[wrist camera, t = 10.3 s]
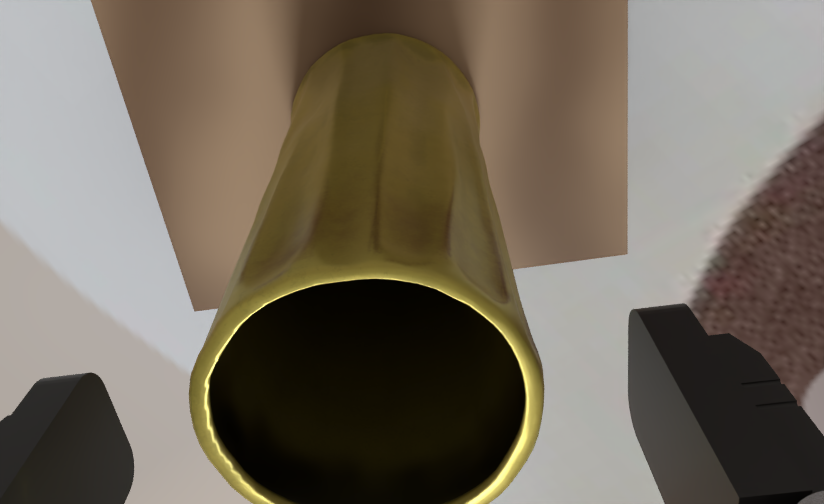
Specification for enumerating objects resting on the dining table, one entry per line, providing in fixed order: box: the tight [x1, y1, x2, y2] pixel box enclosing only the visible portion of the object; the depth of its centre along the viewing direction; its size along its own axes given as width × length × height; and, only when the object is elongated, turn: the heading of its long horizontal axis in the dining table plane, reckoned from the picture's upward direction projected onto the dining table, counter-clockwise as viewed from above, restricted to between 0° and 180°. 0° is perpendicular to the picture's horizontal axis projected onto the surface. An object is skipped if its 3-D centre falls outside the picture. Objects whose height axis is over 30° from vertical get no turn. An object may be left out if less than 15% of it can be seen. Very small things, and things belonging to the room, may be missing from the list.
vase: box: [189, 33, 544, 504], centre depth 17 cm, size 6×6×14 cm
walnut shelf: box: [91, 0, 628, 311], centre depth 25 cm, size 16×12×5 cm
